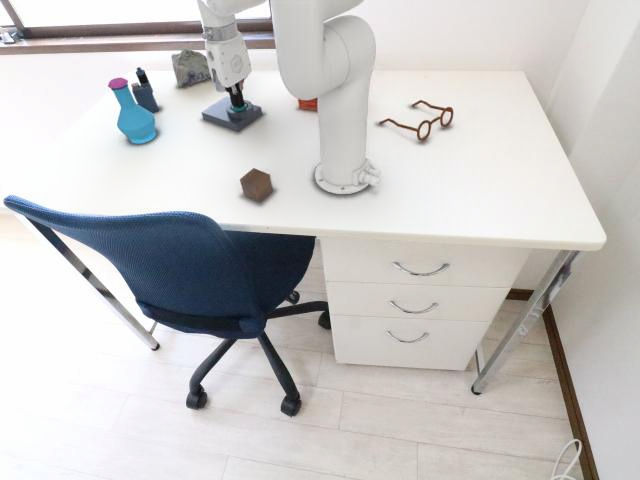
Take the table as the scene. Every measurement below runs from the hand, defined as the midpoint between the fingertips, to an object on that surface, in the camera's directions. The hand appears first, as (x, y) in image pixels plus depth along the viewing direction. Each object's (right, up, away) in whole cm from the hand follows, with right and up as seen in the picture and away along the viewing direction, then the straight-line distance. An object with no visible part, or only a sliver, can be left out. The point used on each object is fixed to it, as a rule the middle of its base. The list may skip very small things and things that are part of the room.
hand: (238, 105), depth 98 cm
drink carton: (+24, +2, +6) cm, 25 cm away
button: (0, -1, +1) cm, 2 cm away
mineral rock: (-17, +15, +21) cm, 31 cm away
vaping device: (-27, +2, +10) cm, 29 cm away
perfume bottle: (-25, -8, +1) cm, 27 cm away
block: (+8, -25, -18) cm, 32 cm away
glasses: (+46, -6, -3) cm, 46 cm away
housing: (-2, -2, +4) cm, 5 cm away
